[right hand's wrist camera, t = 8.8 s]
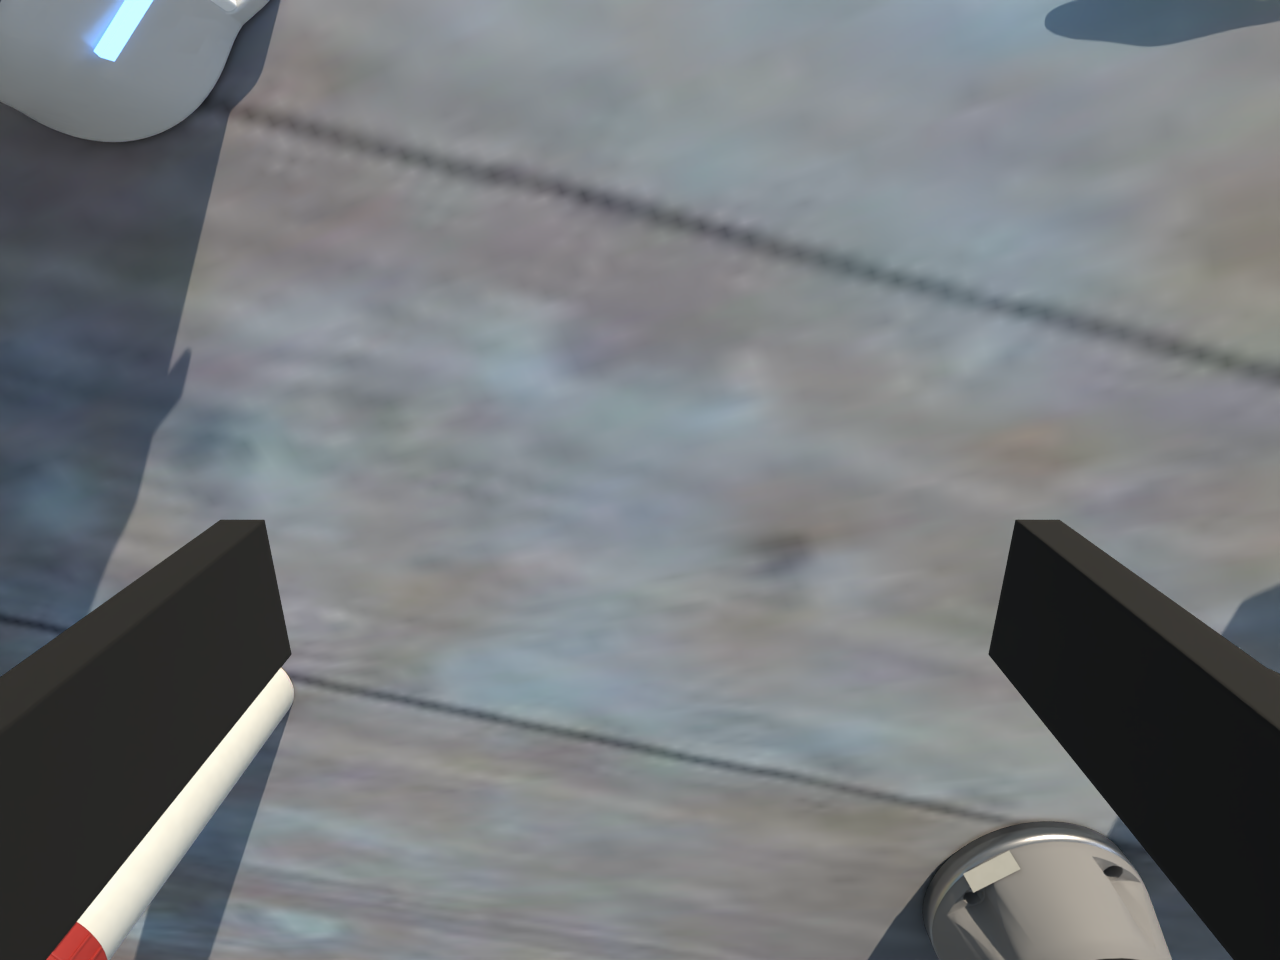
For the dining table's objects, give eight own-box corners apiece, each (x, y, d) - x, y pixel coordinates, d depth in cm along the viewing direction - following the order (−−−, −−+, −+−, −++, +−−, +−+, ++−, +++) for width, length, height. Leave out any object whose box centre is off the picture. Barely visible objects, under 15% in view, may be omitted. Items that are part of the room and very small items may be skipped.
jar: (223, 722, 47) (-33, 1032, 29) (202, 655, 45) (-85, 941, 27) (302, 719, 47) (93, 1028, 29) (284, 651, 45) (50, 936, 27)
